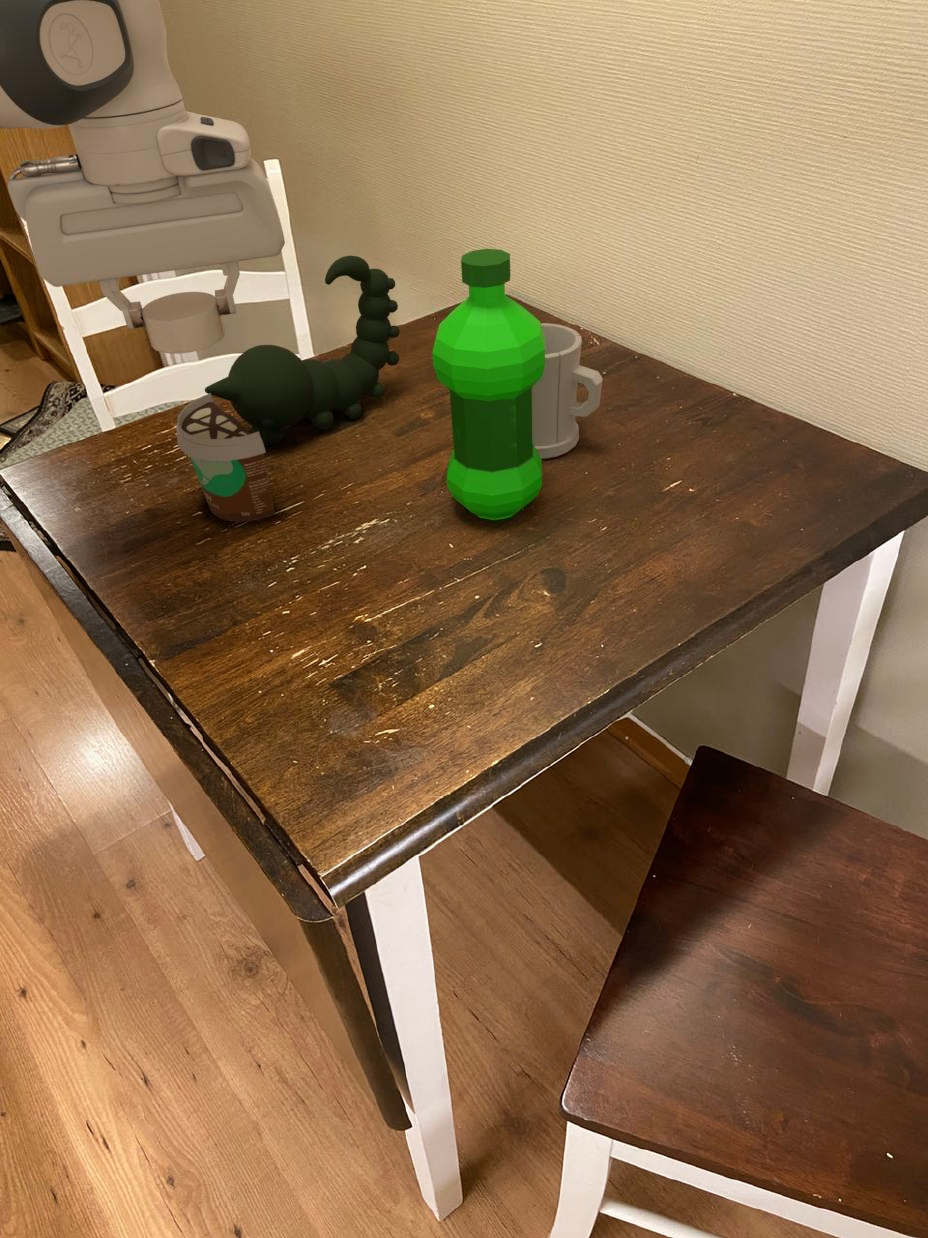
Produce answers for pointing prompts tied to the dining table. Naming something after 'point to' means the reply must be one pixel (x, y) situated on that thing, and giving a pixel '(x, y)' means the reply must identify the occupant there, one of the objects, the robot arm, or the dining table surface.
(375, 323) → the toy figurine
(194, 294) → the beige hockey puck
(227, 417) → the food container
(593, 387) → the cup
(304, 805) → the dining table surface
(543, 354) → the plastic bottle
